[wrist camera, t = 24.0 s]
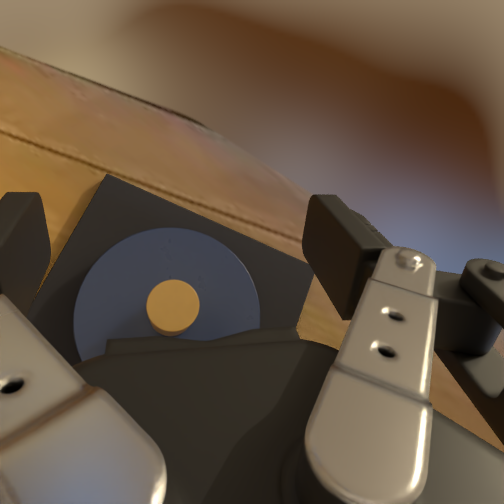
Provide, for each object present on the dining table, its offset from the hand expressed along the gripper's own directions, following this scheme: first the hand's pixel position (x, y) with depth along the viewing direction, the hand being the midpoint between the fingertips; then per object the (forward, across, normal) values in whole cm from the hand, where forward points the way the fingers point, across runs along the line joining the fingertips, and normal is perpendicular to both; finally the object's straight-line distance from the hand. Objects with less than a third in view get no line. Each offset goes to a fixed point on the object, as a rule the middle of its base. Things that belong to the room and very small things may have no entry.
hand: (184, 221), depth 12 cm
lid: (+10, 0, +12) cm, 15 cm away
